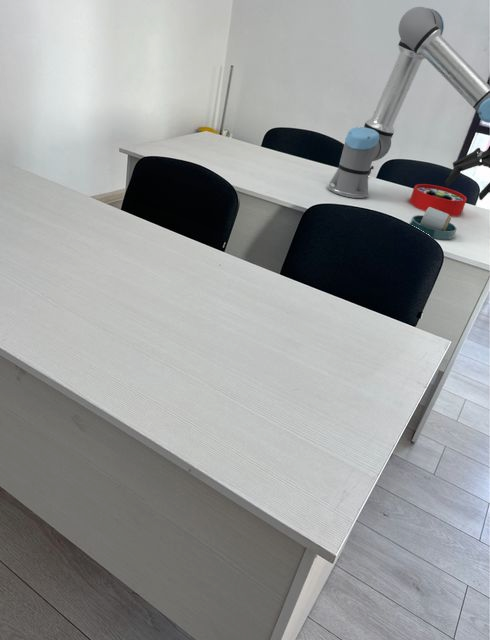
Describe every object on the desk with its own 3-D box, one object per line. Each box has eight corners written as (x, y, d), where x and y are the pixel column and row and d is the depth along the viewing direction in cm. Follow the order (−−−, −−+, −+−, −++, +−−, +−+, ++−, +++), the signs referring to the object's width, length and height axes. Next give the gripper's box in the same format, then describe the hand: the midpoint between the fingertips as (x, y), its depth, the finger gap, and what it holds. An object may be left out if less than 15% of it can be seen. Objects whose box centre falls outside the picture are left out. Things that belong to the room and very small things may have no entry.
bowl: (411, 220, 208) (414, 212, 206) (454, 231, 204) (457, 223, 202) (406, 231, 196) (409, 222, 194) (452, 243, 192) (455, 235, 190)
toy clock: (435, 200, 213) (404, 182, 229) (429, 215, 216) (399, 197, 232) (478, 202, 220) (445, 185, 236) (472, 217, 223) (440, 199, 239)
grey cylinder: (441, 238, 194) (450, 215, 190) (417, 230, 197) (425, 208, 193) (447, 231, 202) (455, 209, 198) (423, 224, 205) (431, 202, 201)
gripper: (472, 127, 203) (431, 171, 203) (538, 147, 186) (493, 195, 186) (475, 143, 208) (435, 186, 208) (539, 163, 192) (496, 210, 192)
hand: (462, 190), depth 197 cm, fingers open, 13 cm apart
